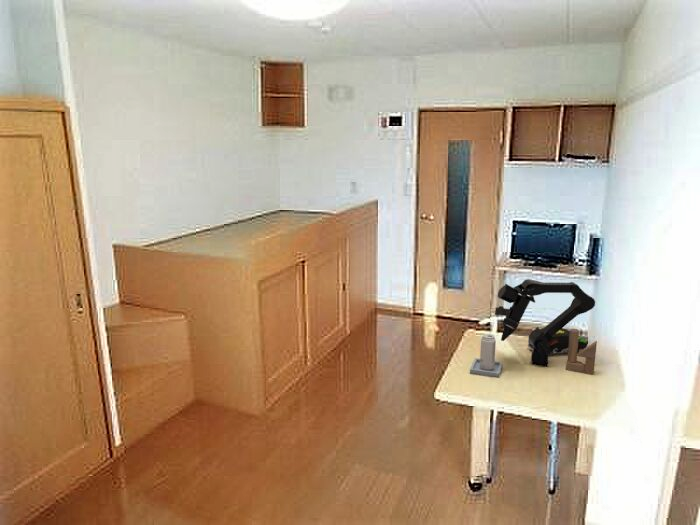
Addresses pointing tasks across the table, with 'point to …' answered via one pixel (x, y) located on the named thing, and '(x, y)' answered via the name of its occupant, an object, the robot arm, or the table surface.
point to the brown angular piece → (586, 352)
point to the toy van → (562, 342)
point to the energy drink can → (487, 352)
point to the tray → (478, 371)
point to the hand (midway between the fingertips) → (502, 339)
